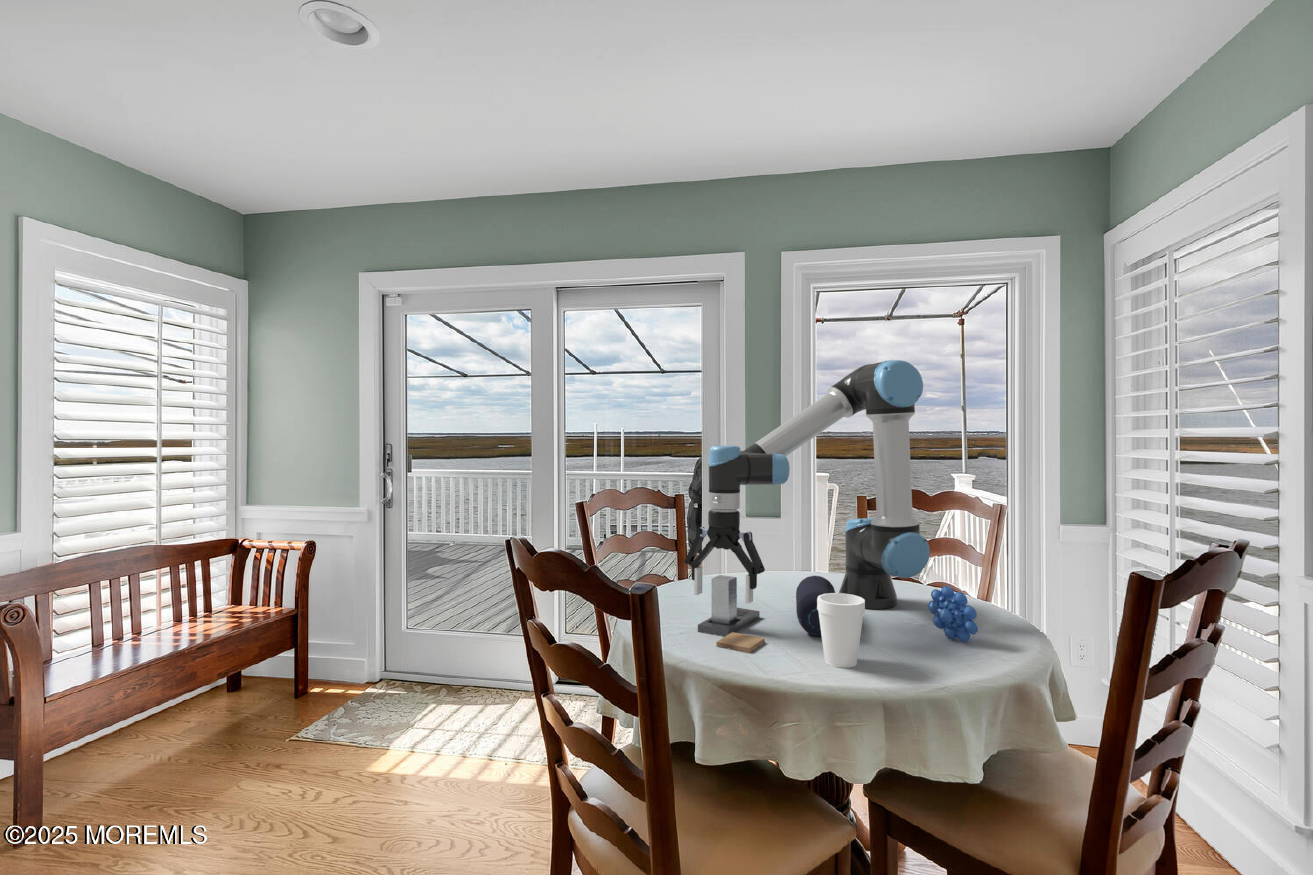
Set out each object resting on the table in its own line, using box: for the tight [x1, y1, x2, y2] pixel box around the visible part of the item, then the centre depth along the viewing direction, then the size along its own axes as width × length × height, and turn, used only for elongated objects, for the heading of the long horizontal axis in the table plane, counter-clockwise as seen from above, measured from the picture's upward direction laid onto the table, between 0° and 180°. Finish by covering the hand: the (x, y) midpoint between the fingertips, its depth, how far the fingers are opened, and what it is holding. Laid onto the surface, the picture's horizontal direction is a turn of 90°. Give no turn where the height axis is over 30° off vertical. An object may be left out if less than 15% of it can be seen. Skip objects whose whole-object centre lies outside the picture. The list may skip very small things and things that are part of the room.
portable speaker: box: [795, 575, 836, 637], centre depth 160 cm, size 25×10×10 cm, turn 168°
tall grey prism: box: [711, 574, 738, 626], centre depth 157 cm, size 4×4×12 cm
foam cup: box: [817, 592, 866, 669], centre depth 134 cm, size 10×9×13 cm
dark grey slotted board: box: [697, 607, 761, 637], centre depth 159 cm, size 8×18×2 cm, turn 148°
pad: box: [716, 632, 766, 654], centre depth 145 cm, size 8×8×1 cm
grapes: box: [927, 585, 979, 643], centre depth 147 cm, size 12×7×12 cm, turn 36°
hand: (723, 598), depth 157 cm, fingers open, 13 cm apart
